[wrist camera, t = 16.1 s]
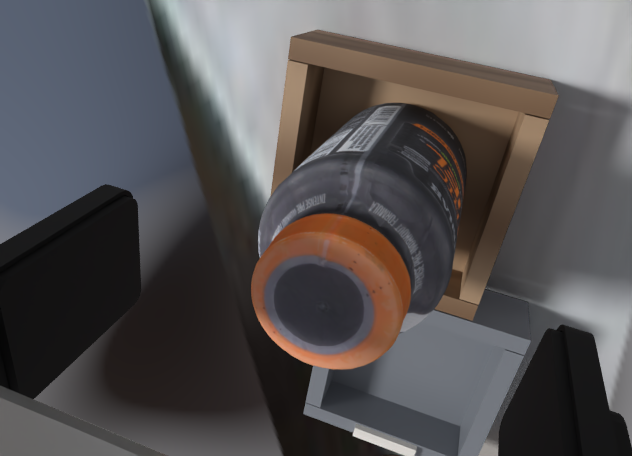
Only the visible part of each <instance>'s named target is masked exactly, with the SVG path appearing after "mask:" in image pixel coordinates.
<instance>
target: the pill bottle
mask: <svg viewBox="0 0 632 456" xmlns="http://www.w3.org/2000/svg"><path fill="white" fill-rule="evenodd" d="M466 178H467V167H466V157H465V153H464V150H463V148H462V145H461V143H460V141H459V139H458V137H457V136H456V134H455V133H454V132H453V130H452V129H451V128H450V127H449V126H448V125H447V124H446V123H445V122H444V121H443V120H441V119H440V118H439V117H437V116H436V115H435V114H434V113H432V112H430V111H428V110H426V109H424V108H421V107H418V106H415V105H412V104H406V103H384V104H379V105H375V106H372V107H369V108H367V109H365V110H363V111H361V112H360V113H358V114H356V115H355V116H354V117H352V119H350V120H349V121H348V122H347V123H346V124H345V125H343V126H342V127H341V128H340V129H339V130H338V131H337V132H336V133H335V134H334V135H332V136H331V137H330V138H329V139H328V140H327V141H326V142H325V143H324V144H322V145H321V146H320V147H319V148H318V149H317V150H316V151H315V152H314V153H313V154H312V155H310V156H309V157H308V158H307V159H306V160H305V161H303V162H302V163H301V165H299V166H298V168H296V169H295V170H294V171H293V172H292V173H291V174H290V175H289V176H288V177H287V178H286V179H285V180H284V181H283V182H282V183H280V184H279V185H278V187H277V188H276V189H275V191H274V192H273V194H272V195H271V197H270V198H269V200H268V202H267V204H266V206H265V209H264V212H263V214H262V217H261V222H260V226H259V233H258V248H259V256H260V259H259V261H258V262H257V264H256V267H255V270H254V273H253V276H252V283H251V295H252V301H253V306H254V309H255V312H256V315H257V317H258V319H259V321H260V323H261V325H262V326H263V328H264V330H265V331H266V333H267V334H268V335H269V336H270V337H271V338H272V340H273V341H274V342H275V343H276V344H278V345H279V346H280V347H281V348H282V349H283V350H285V351H286V352H288V353H289V354H290V355H292V356H293V357H295V358H297V359H299V360H301V361H303V362H305V363H308V364H310V365H314V366H318V367H322V368H328V369H340V370H342V369H353V368H357V367H361V366H364V365H367V364H369V363H371V362H373V361H375V360H377V359H378V358H380V357H381V356H382V355H383V354H384V353H386V352H387V351H388V350H389V349H390V348H391V347H392V345H393V344H394V343H395V341H396V339H397V337H398V335H399V334H400V333H403V332H405V331H407V330H409V329H410V328H412V327H414V326H415V325H417V324H419V323H420V322H421V321H422V320H423V319H424V318H426V317H427V316H428V314H429V313H430V312H432V311H433V310H434V309H435V307H436V306H437V305H438V303H439V301H440V300H441V298H442V296H443V295H444V293H445V291H446V289H447V286H448V283H449V280H450V278H451V273H452V268H453V260H454V254H455V248H456V242H457V235H458V230H459V223H460V217H461V211H462V204H463V198H464V192H465V185H466Z"/></svg>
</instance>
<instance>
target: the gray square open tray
mask: <svg viewBox="0 0 632 456" xmlns="http://www.w3.org/2000/svg"><path fill="white" fill-rule="evenodd" d="M530 342H531V333H530V321H529V310H528V302H525V301H522V300H519V299H515V298H512V297H509V296H505V295H502V294H499V293H495V292H492V291H489V290H485V289H484V292H483V295H482V297H481V300H480V302H479V305H478V308H477V310H476V313H475V315H474V318H473V321H471V320H468V319H465V318H462V317H458V316H455V315H452V314H449V313H446V312H442V311H439V310H436V309H434V310H433V311H432V312H430V313H429V314H428V316H427V317H426V318H424V319H423V320H422V321H421V322H420V323H419V324H417V325H415V326H414V327H412V328H410V329H409V330H407V331H405V332H403V333H400V334H399V335H398V337H397V339H396V341H395V343H394V344H393V345H392V347H391V348H390V349H389V350H388V351H387V352H386V353H384V354H383V355H382V356H381V357H380V358H378V359H377V360H375V361H373V362H371V363H369V364H367V365H364V366H361V367H357V368H353V369H342V370H340V369H328V368H322V367H318V366H314V365H313V370H312V375H311V379H310V384H309V389H308V394H307V399H306V404H305V408H304V413H303V414H305V415H308V416H310V417H313V418H316V419H318V420H321V421H324V422H326V423H329V424H332V425H334V426H337V427H340V428H342V429H345V430H348V431H350V432H353V436H354V437H357V438H360V439H362V440H365V441H368V442H370V443H373V444H376V445H378V446H381V447H384V448H386V449H389V450H391V451H394V452H397V453H399V454H402V455H405V456H478V455H479V453H480V450H481V448H482V446H483V444H484V442H485V440H486V437H487V435H488V433H489V431H490V429H491V427H492V424H493V422H494V420H495V418H496V416H497V414H498V411H499V409H500V407H501V405H502V403H503V401H504V399H505V396H506V394H507V392H508V390H509V388H510V386H511V383H512V381H513V379H514V377H515V375H516V373H517V370H518V368H519V366H520V364H521V362H522V360H523V357H524V355H525V353H526V351H527V349H528V347H529V344H530Z"/></svg>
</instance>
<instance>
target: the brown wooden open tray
mask: <svg viewBox="0 0 632 456" xmlns="http://www.w3.org/2000/svg"><path fill="white" fill-rule="evenodd" d="M288 59H290V60H288V64H287V72H286V80H285V88H284V95H283V103H282V111H281V119H280V127H279V135H278V142H277V150H276V158H275V166H274V174H273V182H272V189H271V195H272V194H273V192H274V191H275V189H276V188H277V187H278V185H279V184H280V183H282V182H283V181H284V180H285V179H286V178H287V177H288V176H289V175H290V174H291V173H292V172H293V171H294V170H295V169H296V168H298V166H299V165H301V163H302V162H303V161H305V160H306V159H307V158H308V157H309V156H310V155H312V154H313V153H314V152H315V151H316V150H317V149H318V148H319V147H320V146H321V145H322V144H324V143H325V142H326V141H327V140H328V139H329V138H330V137H331V136H332V135H334V134H335V133H336V132H337V131H338V130H339V129H340V128H341V127H342V126H343V125H345V124H346V123H347V122H348V121H349V120H350V119H352V117H354V116H355V115H356V114H358V113H360V112H361V111H363V110H365V109H367V108H369V107H372V106H375V105H379V104H384V103H406V104H412V105H415V106H418V107H421V108H424V109H426V110H428V111H430V112H432V113H434V114H435V115H436V116H437V117H439V118H440V119H441V120H443V121H444V122H445V123H446V124H447V125H448V126H449V127H450V128H451V129H452V130H453V132H454V133H455V134H456V136H457V137H458V139H459V141H460V143H461V145H462V148H463V150H464V153H465V157H466V167H467V178H466V185H465V192H464V198H463V204H462V211H461V217H460V223H459V230H458V235H457V242H456V248H455V254H454V260H453V268H452V273H451V278H450V280H449V283H448V286H447V289H446V291H445V293H444V295H443V296H442V298H441V300H440V301H439V303H438V305H437V306H436V307H435V309H436V310H439V311H442V312H446V313H449V314H452V315H455V316H458V317H462V318H465V319H468V320H471V321H473V318H474V315H475V313H476V310H477V308H478V305H479V302H480V300H481V297H482V295H483V292H484V289H485V287H486V284H487V282H488V279H489V276H490V274H491V271H492V268H493V266H494V263H495V261H496V258H497V255H498V253H499V250H500V248H501V245H502V242H503V240H504V237H505V235H506V232H507V229H508V227H509V224H510V221H511V219H512V216H513V214H514V211H515V208H516V206H517V203H518V201H519V198H520V195H521V193H522V190H523V188H524V185H525V182H526V180H527V177H528V174H529V172H530V169H531V167H532V164H533V161H534V159H535V156H536V154H537V151H538V148H539V146H540V143H541V141H542V138H543V135H544V133H545V130H546V127H547V125H548V122H549V119H550V117H551V114H552V112H553V109H554V107H555V104H556V101H557V99H558V96H559V95H558V93H557V91H556V89H555V87H554V85H553V83H552V81H551V80H549V79H545V78H540V77H535V76H531V75H526V74H522V73H517V72H512V71H508V70H503V69H498V68H494V67H489V66H484V65H480V64H475V63H470V62H466V61H461V60H456V59H452V58H447V57H442V56H438V55H433V54H428V53H424V52H419V51H414V50H410V49H405V48H400V47H396V46H391V45H386V44H382V43H377V42H372V41H368V40H363V39H358V38H354V37H349V36H344V35H340V34H335V33H330V32H326V31H321V30H314V31H311V32H307V33H303V34H300V35H296V36H292V37H291V41H290V49H289V56H288Z"/></svg>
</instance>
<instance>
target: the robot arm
mask: <svg viewBox="0 0 632 456" xmlns="http://www.w3.org/2000/svg"><path fill="white" fill-rule="evenodd" d="M138 228H139V227H138V205H137V202H136V200H135V199H133V196H132V194H131V193H130V192H129V191H127V190H124V189H121V188H118V187H114V186H111V185H106V184H105V185H103V186H100V187H99V188H97V189H95V190H94V191H92V192H90V193H88V194H87V195H85V196H83V197H82V198H80V199H78V200H76V201H74V202H73V203H71V204H69V205H68V206H66V207H64V208H62V209H61V210H59V211H57V212H55V213H54V214H52V215H50V216H49V217H47V218H45V219H43V220H42V221H40V222H38V223H36V224H35V225H33V226H31V227H30V228H28V229H26V230H24V231H23V232H21V233H19V234H17V235H16V236H14V237H12V238H10V239H9V240H7V241H5V242H4V243H2V244H0V456H167V455H165V454H162V453H160V452H157V451H155V450H153V449H150V448H148V447H146V446H143V445H141V444H139V443H136V442H134V441H132V440H129V439H127V438H124V437H122V436H120V435H117V434H115V433H113V432H110V431H108V430H105V429H103V428H101V427H98V426H96V425H93V424H91V423H89V422H86V421H84V420H82V419H79V418H77V417H74V416H72V415H69V414H67V413H65V412H62V411H59V410H57V409H55V408H53V407H50V406H48V405H45V404H43V403H40V402H38V401H36V400H33V399H34V398H35V397H36V396H37V395H39V394H40V393H41V392H42V391H43V390H44V389H45V388H46V387H47V386H48V385H49V384H50V383H51V382H52V381H53V380H55V378H57V377H58V376H59V375H60V374H61V373H62V372H63V371H64V370H65V369H66V368H67V367H68V366H69V365H70V364H72V363H73V362H74V361H75V360H76V359H77V358H78V357H79V356H80V355H81V354H82V353H83V352H84V351H85V350H86V349H88V347H90V346H91V345H92V344H93V343H94V342H95V341H96V340H97V339H98V338H99V337H100V336H101V335H102V334H103V333H105V332H106V331H107V330H108V329H109V328H110V327H111V326H112V325H113V324H114V323H115V322H116V321H117V320H118V319H119V318H120V317H122V316H123V315H124V314H125V313H126V312H127V311H128V310H129V309H130V308H131V307H132V306H133V305H134V304H135V303H136V302H137V300H138V298H139V296H140V292H141V278H140V253H139V229H138ZM498 456H632V447H631V443H630V439H629V435H628V430H627V426H626V423H625V420H624V418H623V417H622V416H621V415H620V414H619V413H616V412H613V411H610V410H609V405H608V401H607V396H606V391H605V386H604V382H603V377H602V372H601V367H600V363H599V358H598V353H597V348H596V343H595V339H594V336H593V335H592V334H591V333H588V332H585V331H581V330H578V329H575V328H572V327H568V326H565V325H560V326H559V327H558V329H557V330H553V329H550V328H549V329H547V330H546V332H545V334H544V336H543V338H542V340H541V342H540V344H539V346H538V348H537V350H536V352H535V354H534V356H533V358H532V360H531V362H530V364H529V366H528V368H527V370H526V372H525V374H524V376H523V378H522V380H521V382H520V384H519V386H518V388H517V390H516V392H515V394H514V396H513V398H512V400H511V402H510V404H509V406H508V408H507V410H506V412H505V414H504V416H503V419H502V422H501V425H500V430H499V449H498Z"/></svg>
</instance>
